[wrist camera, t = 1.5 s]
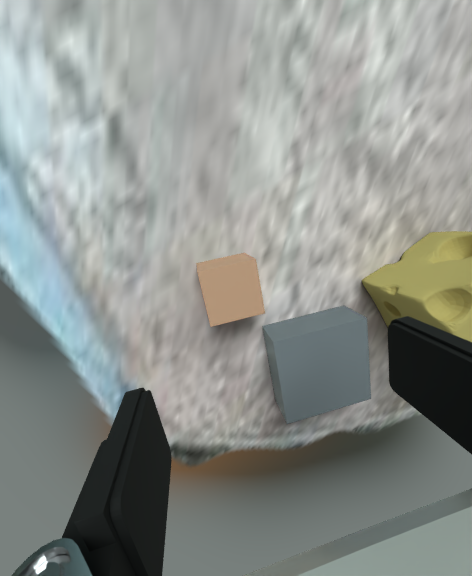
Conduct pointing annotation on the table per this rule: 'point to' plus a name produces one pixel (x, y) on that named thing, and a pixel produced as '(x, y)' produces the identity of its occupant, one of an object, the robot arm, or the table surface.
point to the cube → (230, 288)
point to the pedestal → (318, 362)
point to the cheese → (429, 284)
